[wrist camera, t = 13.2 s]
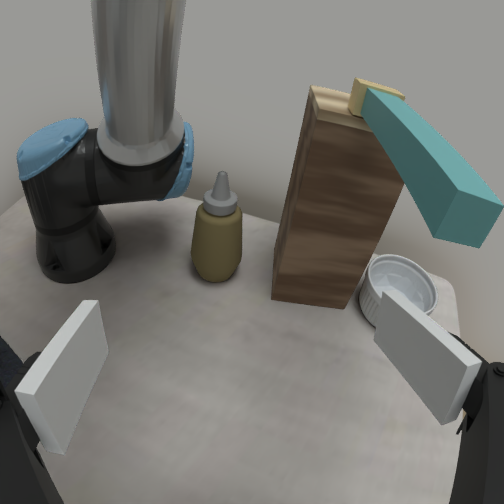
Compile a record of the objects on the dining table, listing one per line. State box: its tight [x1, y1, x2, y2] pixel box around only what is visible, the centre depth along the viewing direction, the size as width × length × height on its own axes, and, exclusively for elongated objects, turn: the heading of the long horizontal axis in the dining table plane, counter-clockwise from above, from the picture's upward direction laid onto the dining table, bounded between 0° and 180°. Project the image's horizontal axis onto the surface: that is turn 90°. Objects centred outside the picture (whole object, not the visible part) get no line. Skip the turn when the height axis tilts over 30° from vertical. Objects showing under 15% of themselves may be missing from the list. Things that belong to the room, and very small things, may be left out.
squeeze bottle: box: [191, 171, 242, 282], centre depth 47 cm, size 8×8×18 cm
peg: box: [348, 78, 504, 248], centre depth 22 cm, size 23×5×4 cm, turn 175°
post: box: [271, 85, 404, 309], centre depth 44 cm, size 12×12×30 cm
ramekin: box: [359, 254, 438, 327], centre depth 49 cm, size 13×13×7 cm
